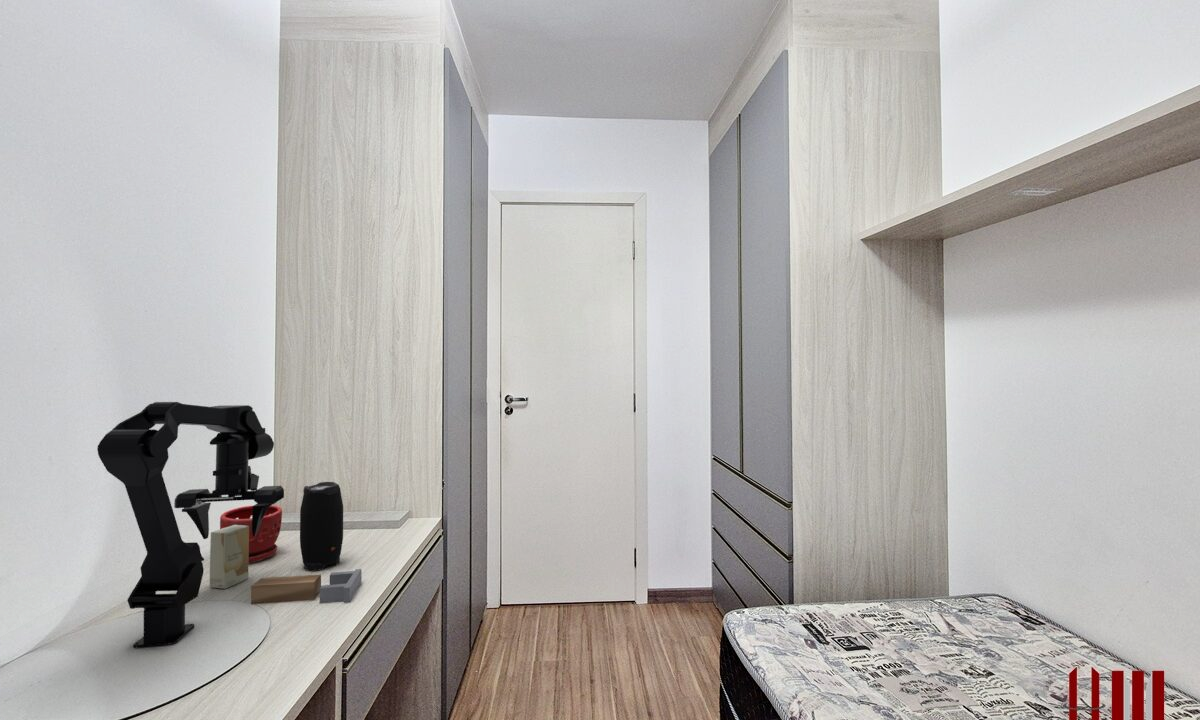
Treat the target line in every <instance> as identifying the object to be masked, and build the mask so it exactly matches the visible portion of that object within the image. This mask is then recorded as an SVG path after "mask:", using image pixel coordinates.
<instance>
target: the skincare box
mask: <svg viewBox="0 0 1200 720" xmlns="http://www.w3.org/2000/svg"><path fill="white" fill-rule="evenodd" d="M209 551H210V552H209V553H210V555H209V557H210V558H209V560H210V561H209V588H216V589H223V590H224V589H225V590H226V589H228V588H231V587H232V586H234V585H236V584H239V583H241V582H243V581H246V580H247V579H249V564H250V563H249V526H245V525H232V526H229V527H226V528H222V529H220V528H219V529H217V530H214V531H211V532H210V549H209Z"/></svg>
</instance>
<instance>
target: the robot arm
mask: <svg viewBox="0 0 1200 720" xmlns="http://www.w3.org/2000/svg"><path fill="white" fill-rule="evenodd" d="M253 409H254V408H253V407H252V406H251V405H242V404H240V405H239V404H238V405H237V404H236V405H234V404H233V405H214V406H204V405H196V404H189V403H187V404H186V403H181V402H178V401H155V402H153V403H149V404H148V405H147V406H145V408H143V410H142V411H140V412H138V413H136V414H135V415H133V416H131V417H129V418H126V419H124V420H123V421H121V422H119V423H118V424H116V426H114V428H112V429H111V430H110V431H109V432H107V433H106V434H105V435H104V436H103V437H102V439H101V440H100V441H99V443H98V445H97V449H96V450H97V455H98V458H99V459H100V461H101V463H102V465H103V466H104V468H105V470H106V472H108V473H109V474H111V475H112V476H113V477H114V478H116V479H117V480H118V481H120V482H121V483H122V484H123V485H124V487H125V490H126V492H127V497H128V498H129V502H130V504H131V508H132V511H133V515H134V517H135V520H136V524H137V526H138V528H139V529H138V530H139V532H140V535H141V538H142V541H143V545H144V548H145V551H146V555H145V558H144V560H143V562H142V564H141V566H140V575H141V577H140V578H139V580H138V582H137V583H136V584H135V586H134V588H133V589H132V592H130V594H129V596H128V598H127V600H126V601H127V603H128V606H129V609H143V632H142V633H143V636H142V637H140V639H138V640H137V641H136V642H134V643H133V645H132V646H133V647H132V648H133V649H134V648H136V649H137V648H143V647H144V648H145V647H155V646H167V645H174V644H176V643H177V642H178V641H180V640H182V638H183V637H184V636H185V635H187V633H189V632H190V631H191V630H192V629H193V628H194V627H195V623H187V624H186V604H188V603H190V602H191V601H193V600H194V599H196V598H198V597H199V592H200V588H201V584H202V581H203V576H204V564H203V561H205V558H204V557H203V556H202V553H201V546H200V545H199V543H198V542H185V541H183V539H182V536H181V533H180V529H179V527H178V523H177V520H176V517H175V512H174V509H181V512H182V513H186V514H187V515H188V516H189V517H190V519H191V520H192V521H193V523H194V524H195V526H196V528H197V530H198V531H199V534H200V535H201V537H202V538H203V540H207V539H209V534H210V532H209V531H210V526H209V525H210V524H209V523H210V522H209V520H210V519H209V516H210V515H209V510H210V508H211V503H212V502H233V501H250V500H252V501H254V502H255V504H254V505H251V506H252V516H251V518H252V535H253V536H256V535H257V532H258V530H259V527H260V525H261V522H262V520H263V517H264V515H265V513H266V511H267V510H268V508H269V507H270V506H271V505H274V504H276V503H277V502H279V501H280V500H282V499H284V498H285V489H284V487H283V486H282V485H268V486H267V485H265V486H262V487H260V488H258V485H259V482H260V481H259V480H260V476H259V475H258V474H255V473H252V468H251V465H249V461H251V460H254V459H257V458H262V457H266V456H268V455H270V454H271V453H272V451H273V450H274V445H275V443H274V441H273V438H272V437H271V435H269V434H268V433H267V432H266V427H262V424H261V422H260V420H259V418H258V416H257V414H256V412H255V411H254V410H253ZM156 425H162V426H161V427H160V428H159V429H158V430H157V429H153V427H155V426H156ZM180 425H183V426H184V425H187V426H189V425H190V426H202V427H205V428H206V429H208V430H209V431H213V432H216V433H217V434H216V436H214V437H213V438H211V440H210V441H209V444H210V445H211V446H212V445H213V446H214V445H216V448H215V449H216V450H215V451H216V452H215V470H212V477H215V485H214V489H213V490H212V492H210V490H209V488H199V489H198V488H197V489H188V490H185V491H182V492H180V493H178V494H177V495H176V496H175V499H174V503H173V504H174V509H173V505H172V502H171V500H170V499H171V498H170V497H169V493H168V490H167V486H166V483H165V480H164V476H163V470H164V468H165V466H166V464H167V462H168V460H169V450H168V449H169V448H170V447H171V446H172V445H173V444H174V442H175V441H176V440H177V439H178V437H179V436H178V434H179V427H180ZM157 592H175V593H157Z"/></svg>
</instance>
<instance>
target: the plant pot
mask: <svg viewBox="0 0 1200 720" xmlns="http://www.w3.org/2000/svg"><path fill="white" fill-rule="evenodd" d="M252 506H253V505H247V506H241V507H237V508H233V509H230V510H228V511H227V510H226V511H225V512H223V513H221V515H220V518H219V530H220V529H222V528H226V527H229V526H232V525H245V526H249V564H251V563H256V562H260V561H263V560H266V559H269V558H270V557H272V556H273V555H274V554H276V552H277V550H278V545H277V544H276V542H277V540H278V537H279V535H280V532H281V527H282V521H283V520H282V518H283V508H281V507H280V506H278V505H274V504H273V505H271V506H270V507H269V508H268V510H267V511H266V513H265V515H264V517H263V520H262V522H261V525H260V527H259V530H258V532H257V535H256V536H253V535H252Z"/></svg>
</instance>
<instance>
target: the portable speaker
mask: <svg viewBox="0 0 1200 720" xmlns="http://www.w3.org/2000/svg"><path fill="white" fill-rule="evenodd" d="M302 491H303V492H302V493H303V496H302V500H301V505H300V509H299V510H300V511H299V545H300V552H301V553H300V554H301V558H302V564H303V566H304V568H305V569H306V570H307V572H308V571H310V572H311V571H315V572H316V571H322V570H324V568H325V567H326V566H330V565H332V564H333V565H334V566H337V565H338V564H339V563H340V561H341V558H340V557H341V555H342V548H343V540H344V503H343V497H342V492H341V487H340V485H339V484H338V483H337V482H335V481H323V482H322V481H321V482H318V483H316V484H313V485H306V486H305V485H304V487H303V490H302Z"/></svg>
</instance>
